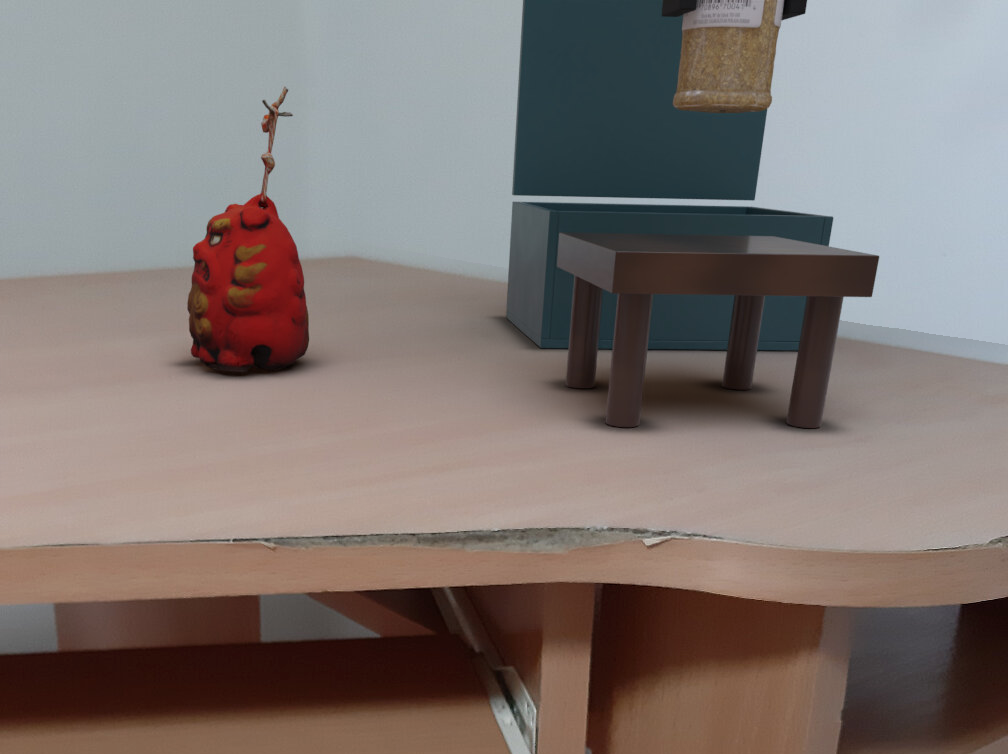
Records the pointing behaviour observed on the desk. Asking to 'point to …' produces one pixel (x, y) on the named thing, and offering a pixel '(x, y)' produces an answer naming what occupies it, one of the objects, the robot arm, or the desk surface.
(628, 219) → the chest
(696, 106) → the tan spice jar
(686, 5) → the robot arm
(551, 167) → the chest lid
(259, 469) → the desk surface
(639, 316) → the stool
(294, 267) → the red clay folk toy
